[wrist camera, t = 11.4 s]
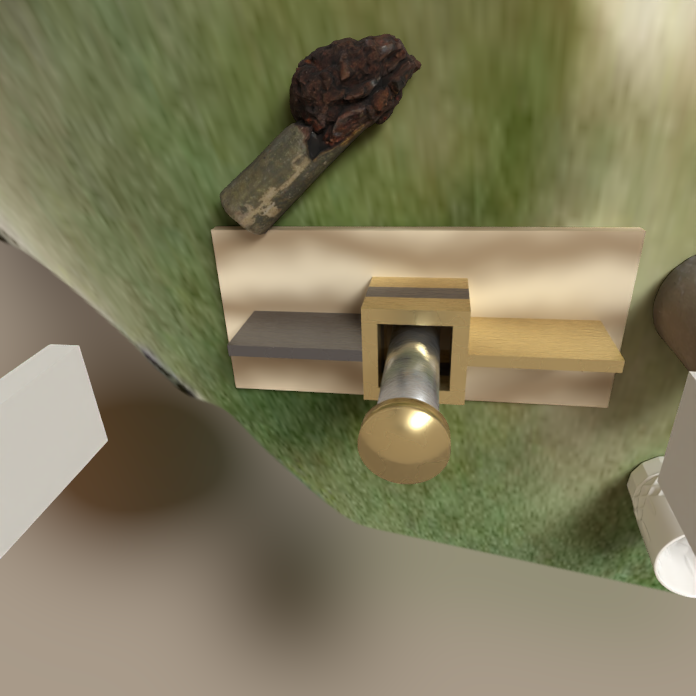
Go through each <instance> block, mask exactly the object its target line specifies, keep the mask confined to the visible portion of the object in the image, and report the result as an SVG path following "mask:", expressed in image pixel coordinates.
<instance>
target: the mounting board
mask: <svg viewBox="0 0 696 696" xmlns="http://www.w3.org/2000/svg"><path fill="white" fill-rule="evenodd" d="M211 233H212V239H213V246H214V252H215V258H216V265H217V271H218V277H219V283H220V290H221V296H222V302H223V309H224V315H225V321H226V327H227V334H228V340H229V342H230V341H231V340H232V338H233V337H234V336H235V335H236V333H237V332H238V331H239V330H240V328H241V327H242V326H243V325H244V323H245V322H246V321H247V319H248V318H249V317H250V316H251V314H252V313H253V312H254V311H286V312H321V313H356V314H361V307H362V304H363V301H364V299H365V296H366V293H367V290H368V287H369V285H370V282H371V279H372V277H425V278H468V286H469V297H470V307H471V317H494V318H529V319H563V320H598V321H601V322H602V324H603V325H604V327H605V329H606V330H607V332H608V334H609V335H610V337H611V339H612V340H613V342H614V344H615V345H616V347H617V349H618V350H619V352H620V349H621V344H622V339H623V335H624V330H625V326H626V321H627V316H628V312H629V307H630V302H631V298H632V293H633V289H634V284H635V279H636V275H637V270H638V266H639V261H640V256H641V252H642V247H643V242H644V238H645V233H646V231H645V230H644V229H642V228H641V227H278V226H272V227H271V228H270V229H269V230H268V231H267V233H266V234H261V235H257V234H253V233H251V232H249V231H248V230H246V229H245V228H243V227H242V226H216V227H215V228H213V229H212V230H211ZM392 327H393V324H387V348H388V347H389V342H390V337H391V332H392ZM450 328H451V326H440V350H449V347H450ZM231 359H232V365H233V371H234V378H235V384H236V388H250V389H269V390H288V391H306V392H325V393H343V394H362V395H364V391H363V362H357V361H334V360H311V359H288V358H266V357H243V356H231ZM614 376H615V373H609V372H586V371H563V370H540V369H518V368H495V367H472V366H467V375H466V389H465V400H474V401H492V402H511V403H529V404H548V405H567V406H585V407H604V408H608V404H609V399H610V395H611V390H612V386H613V381H614Z"/></svg>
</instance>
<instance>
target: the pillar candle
mask: <svg viewBox="0 0 696 696" xmlns="http://www.w3.org/2000/svg"><path fill="white" fill-rule="evenodd" d="M653 320H654V325H655V329H656V330H657V332H658V334H659V335H660V336H661V338H662V339H663V340H664V341H665V342H666V344H667V345H668V346H669V347H670V348H671V350H672V351H673V352H674V353H675V354H676V356H677V357H678V358H679V359H680V361H681V362H682V363H683V365H684V366H685V367H686V368H687V369H688V371H692V372H696V255H695V256H693V257H690V258H689V259H687V260H686V261H684V262H683V263H682V264H681V265H679V266H678V267H676V268H675V269H674V270H673V271H672V272H671V273H670V274H669V275H668V277H667V278H666V279H665V280H664V282H663V283H662V285H661V287H660V289H659V290H658V293H657V295H656V298H655V302H654V307H653Z"/></svg>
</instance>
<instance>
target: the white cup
mask: <svg viewBox="0 0 696 696" xmlns="http://www.w3.org/2000/svg"><path fill="white" fill-rule="evenodd" d="M663 460H664V456H660V457H655V458H653V459H650V460H648V461H645V462H643V463H641V464H640V465H639V466H638V467H637V468H636V469H635V470H634V471H632V472H631V474H630V477H629V480H628V483H627V487H628V491H629V494H630V498H631V500H632V503H633V506H634V513H635V516H636V519H637V523H638V526H639V529H640V532H641V535H642V538H643V540H644V543H645V546H646V549H647V552H648V555H649V558H650V561H651V563H652V566H653V569H654V572H655V575H656V577H657V579H658V580H659V582H660V583H661V584H662V585H663V586H664V587H666V588H667V589H668V590H670V591H672V592H674V593H676V594H679V595H682V596H686V597H691V598H696V557H695V555H694V553H693V551H692V549H691V547H690V545H689V543H688V541H687V539H686V537H685V535H684V533H683V531H682V529H681V527H680V525H679V523H678V521H677V519H676V517H675V515H674V513H673V511H672V509H671V507H670V505H669V503H668V501H667V499H666V497H665V495H664V493H663V491H662V489H661V488H660V486H659V484H658V482H657V480H658V477H659V473H660V470H661V467H662V463H663Z"/></svg>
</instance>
